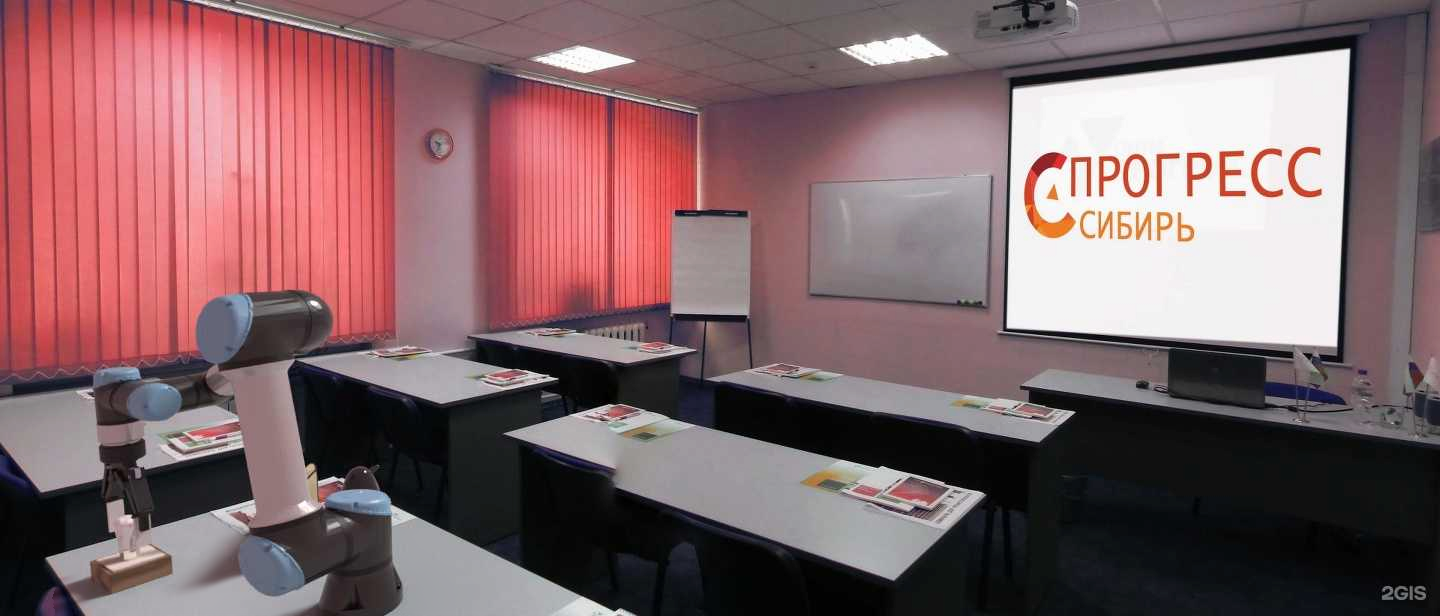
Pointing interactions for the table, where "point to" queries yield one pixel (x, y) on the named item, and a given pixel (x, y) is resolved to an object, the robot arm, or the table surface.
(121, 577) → the dock
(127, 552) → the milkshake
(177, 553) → the table surface
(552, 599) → the table surface
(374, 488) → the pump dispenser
